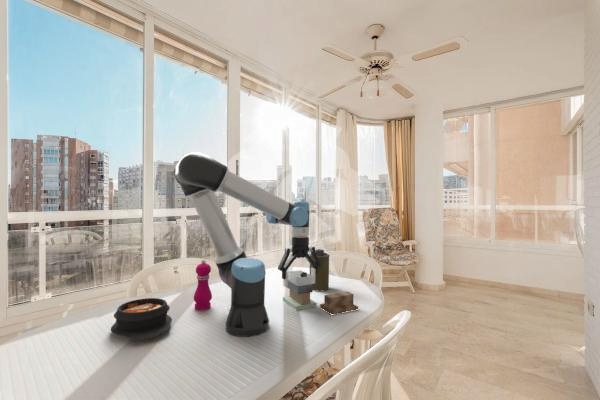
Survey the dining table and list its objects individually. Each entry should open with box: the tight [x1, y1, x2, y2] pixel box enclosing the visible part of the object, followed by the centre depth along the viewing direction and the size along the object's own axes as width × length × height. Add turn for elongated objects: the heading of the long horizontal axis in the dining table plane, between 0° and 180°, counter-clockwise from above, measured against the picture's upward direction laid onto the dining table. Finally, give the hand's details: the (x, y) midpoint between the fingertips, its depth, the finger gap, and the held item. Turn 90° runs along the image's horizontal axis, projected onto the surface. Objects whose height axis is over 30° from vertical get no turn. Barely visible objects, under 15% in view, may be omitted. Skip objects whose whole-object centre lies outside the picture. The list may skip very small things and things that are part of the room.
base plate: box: [286, 280, 314, 294], centre depth 130 cm, size 11×7×4 cm, turn 28°
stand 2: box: [319, 291, 359, 315], centre depth 125 cm, size 13×9×6 cm
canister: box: [309, 248, 330, 292], centre depth 154 cm, size 11×10×20 cm
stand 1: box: [282, 288, 318, 311], centre depth 130 cm, size 10×13×6 cm
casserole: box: [110, 297, 173, 341], centre depth 102 cm, size 25×19×8 cm
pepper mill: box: [193, 259, 213, 311], centre depth 123 cm, size 7×7×20 cm
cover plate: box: [287, 270, 313, 286], centre depth 130 cm, size 11×7×5 cm, turn 28°
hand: (299, 284), depth 130 cm, fingers open, 13 cm apart
